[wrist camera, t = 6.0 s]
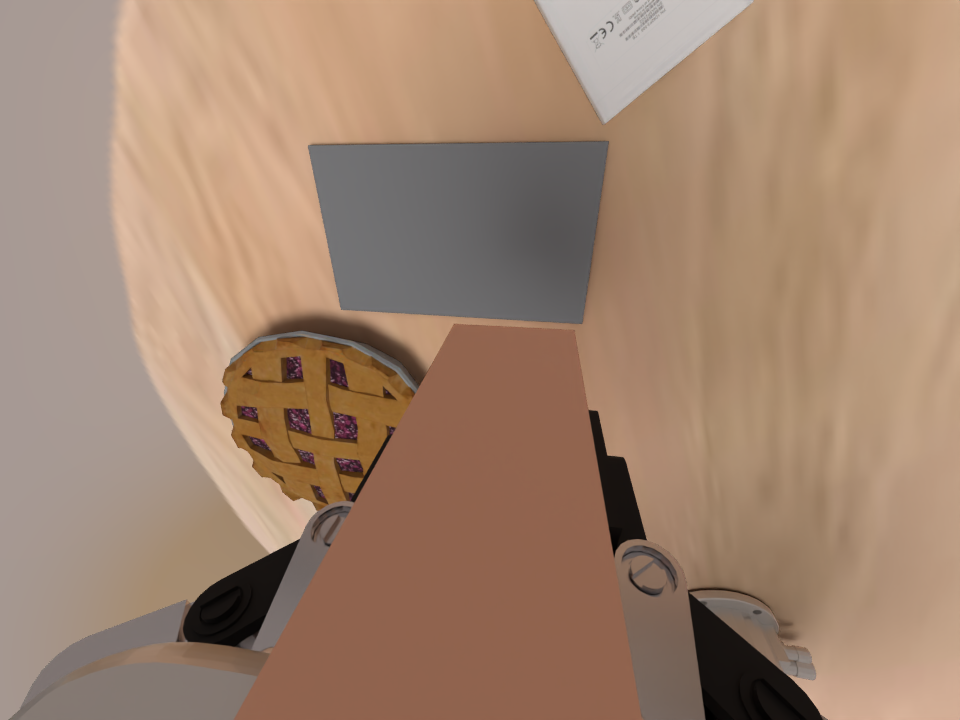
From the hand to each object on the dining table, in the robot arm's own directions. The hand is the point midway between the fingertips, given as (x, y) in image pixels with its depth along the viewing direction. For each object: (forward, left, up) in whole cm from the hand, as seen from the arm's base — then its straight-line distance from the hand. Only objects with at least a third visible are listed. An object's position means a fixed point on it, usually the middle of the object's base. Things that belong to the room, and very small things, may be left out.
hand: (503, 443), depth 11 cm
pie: (+18, +15, -18) cm, 30 cm away
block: (0, 0, -2) cm, 2 cm away
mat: (+6, -3, -18) cm, 19 cm away
